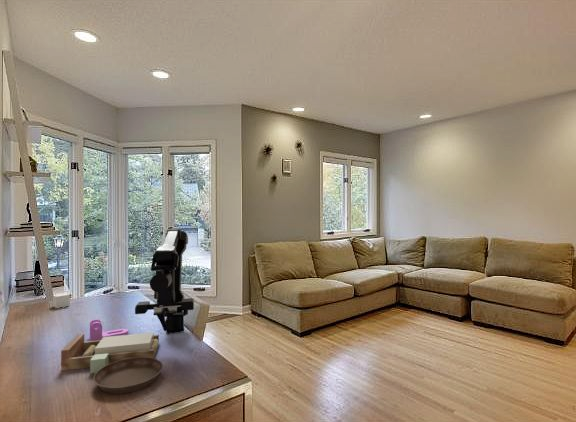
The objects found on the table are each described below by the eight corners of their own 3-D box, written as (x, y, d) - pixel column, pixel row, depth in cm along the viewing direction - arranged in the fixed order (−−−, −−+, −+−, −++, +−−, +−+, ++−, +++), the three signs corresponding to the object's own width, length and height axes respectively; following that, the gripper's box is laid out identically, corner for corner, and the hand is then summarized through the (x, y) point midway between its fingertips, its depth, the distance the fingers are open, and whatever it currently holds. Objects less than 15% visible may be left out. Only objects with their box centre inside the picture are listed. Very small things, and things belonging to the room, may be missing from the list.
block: (108, 366, 103) (108, 353, 103) (105, 372, 99) (105, 358, 99) (94, 367, 102) (94, 354, 102) (90, 373, 98) (90, 360, 98)
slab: (153, 339, 118) (153, 332, 118) (149, 350, 109) (149, 342, 109) (103, 344, 114) (103, 337, 114) (94, 356, 105) (94, 348, 105)
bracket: (90, 342, 123) (90, 323, 123) (89, 337, 127) (89, 319, 127) (129, 335, 130) (129, 317, 130) (127, 331, 134) (127, 314, 134)
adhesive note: (52, 306, 171) (52, 294, 171) (66, 304, 175) (66, 292, 175) (55, 308, 167) (56, 296, 167) (69, 306, 171) (69, 294, 171)
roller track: (159, 343, 121) (159, 326, 121) (154, 360, 107) (154, 341, 107) (77, 351, 114) (77, 334, 114) (61, 370, 100) (61, 350, 100)
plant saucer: (174, 379, 95) (174, 368, 95) (108, 406, 82) (108, 394, 82) (145, 361, 107) (145, 352, 107) (83, 382, 94) (83, 371, 94)
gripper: (193, 279, 125) (194, 321, 125) (140, 282, 120) (140, 325, 120) (193, 285, 114) (193, 331, 114) (134, 289, 110) (134, 336, 109)
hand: (165, 330), depth 115 cm, fingers closed
